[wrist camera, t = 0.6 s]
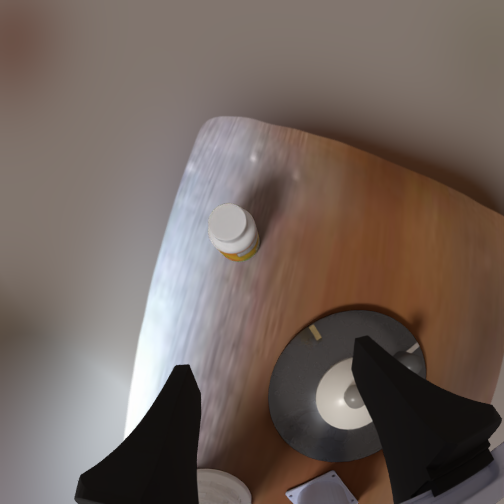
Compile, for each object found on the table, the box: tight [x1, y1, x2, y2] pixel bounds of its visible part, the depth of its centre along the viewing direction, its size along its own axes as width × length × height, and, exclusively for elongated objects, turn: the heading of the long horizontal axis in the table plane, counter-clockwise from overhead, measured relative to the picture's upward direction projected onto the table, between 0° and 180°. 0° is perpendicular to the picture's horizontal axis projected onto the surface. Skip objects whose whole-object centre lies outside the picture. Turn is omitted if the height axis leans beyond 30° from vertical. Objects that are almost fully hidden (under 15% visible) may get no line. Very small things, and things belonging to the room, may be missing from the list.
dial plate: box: [268, 310, 426, 462], centre depth 33 cm, size 22×22×1 cm
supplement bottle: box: [208, 203, 260, 262], centre depth 34 cm, size 5×5×10 cm
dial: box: [315, 351, 423, 430], centre depth 30 cm, size 14×10×5 cm
